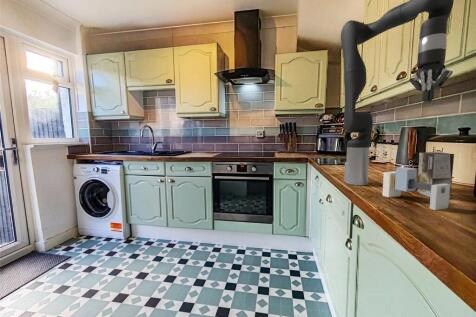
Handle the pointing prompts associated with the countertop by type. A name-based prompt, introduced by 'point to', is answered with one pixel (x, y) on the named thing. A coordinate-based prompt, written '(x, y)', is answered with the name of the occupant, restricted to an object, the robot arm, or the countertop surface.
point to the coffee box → (435, 170)
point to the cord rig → (438, 191)
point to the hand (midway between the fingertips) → (427, 101)
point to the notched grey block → (405, 178)
